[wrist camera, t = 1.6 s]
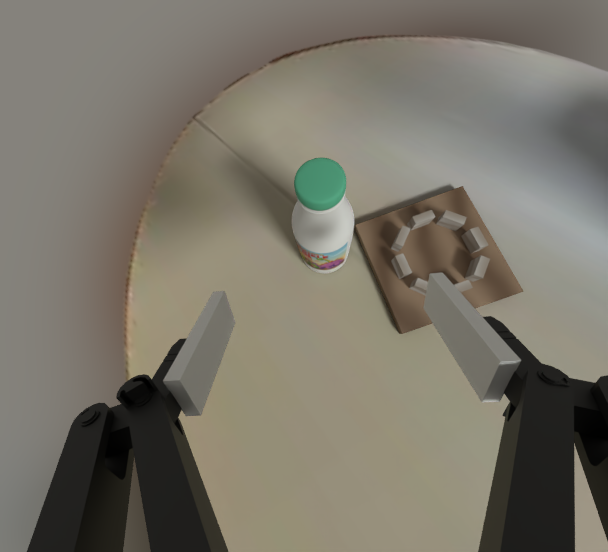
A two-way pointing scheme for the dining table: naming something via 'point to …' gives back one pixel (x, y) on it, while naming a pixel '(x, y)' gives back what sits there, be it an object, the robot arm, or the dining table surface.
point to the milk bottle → (322, 215)
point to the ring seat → (434, 256)
